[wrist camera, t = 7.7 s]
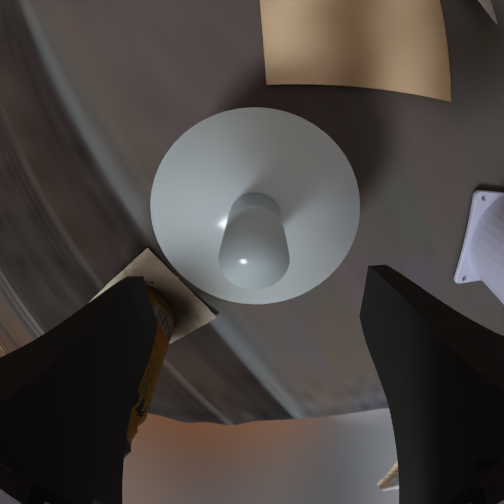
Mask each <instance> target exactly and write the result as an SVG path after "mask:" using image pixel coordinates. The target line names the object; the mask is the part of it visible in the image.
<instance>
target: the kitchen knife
mask: <svg viewBox="0 0 504 504" xmlns="http://www.w3.org/2000/svg"><path fill="white" fill-rule="evenodd" d="M478 1H479V2H480V3H481V5H482V6H483V7H484V9H485V10H486V11H487V13H488V14H489V15H490V16H491V18H492V19H493V20H494V21H495V23H496V24H497V20H496V16H495V12H494V9H493V6H492V3H491V0H478ZM497 25H498V24H497Z"/></svg>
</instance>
